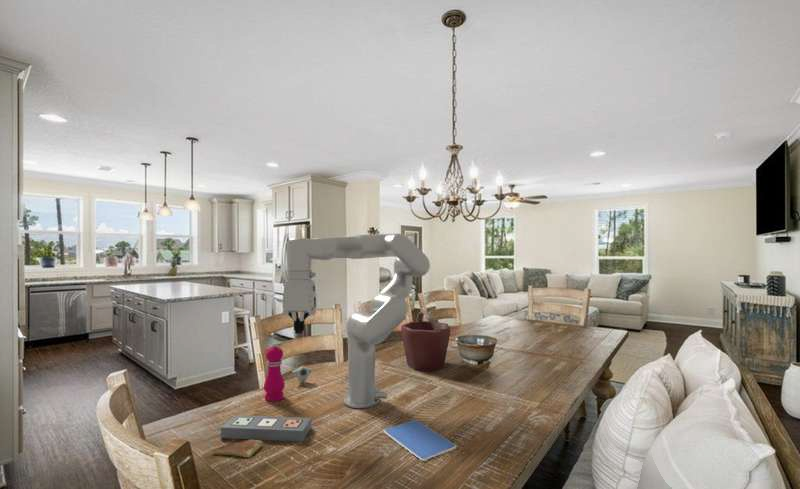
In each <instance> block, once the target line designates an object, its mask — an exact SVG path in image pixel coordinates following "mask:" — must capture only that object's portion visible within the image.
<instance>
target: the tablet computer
mask: <svg viewBox="0 0 800 489" xmlns="http://www.w3.org/2000/svg"><path fill="white" fill-rule="evenodd" d="M382 433H384V434H385V435H386V436H387V437H389V438H390V439H392V440H393V441H394V442H396V443H397V444H398V445H399V446H400V447H402V448H403V447H404V450H406V451H407V450H408V451H409V452H408V451H407V452H408V453H410V454H411V455H412V454H413V455H415V456H416V457H418V458H419V459H420V460H427V459H429V458H432V457H435V456H437V455H440V454H442V453H445V452H447V451H449V450H452V449H454V448H456V447H457V448H458V446H457V444H455V443H453V441H451V440H449V439H447V438H446V437H443V435H440V434H439V433H437V432H436V431H434V430H432V429H431V428H429V427H428V426H427V425H425V424H423V423H422V422H420V421H418V420H416V419H414V420H410V421H407V422H404V423H401V424H397V425H394V426H391V427H389V428H388V427H387V428H385V429H383V432H382ZM452 451H453V450H452ZM447 453H448V452H447ZM445 454H446V453H445ZM413 455H412V456H413ZM415 456H414V457H415ZM440 456H441V455H440ZM416 457H415V458H416ZM435 458H436V457H435ZM420 460H419V461H420Z"/></svg>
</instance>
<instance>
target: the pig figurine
mask: <svg viewBox="0 0 800 489" xmlns="http://www.w3.org/2000/svg"><path fill="white" fill-rule="evenodd" d="M312 370H313V369H312V368H309V367H306V366H305V365H304V366H300V367H298V368H296V369H294V370H292V371H291V372H292V374H293V376H294V377H295V378H297V380H298V382H299V383H301V384H302V383H304V382H306V381H307V379H308V377H309V376H310V374H311V373H312Z"/></svg>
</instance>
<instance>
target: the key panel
mask: <svg viewBox="0 0 800 489" xmlns="http://www.w3.org/2000/svg"><path fill="white" fill-rule="evenodd" d="M239 418H253V420H252V421H251V422H250V423H249V424H248V425H247V426H237V425H232V424H233V423H234V422H235V421H236V420H237V419H239ZM263 419H278V421H277V422H276V423H275V424H274V425H273V427H260V426H257V425H258V424H259V423H260V422H261V421H262V420H263ZM312 419H313V418H311V417H292V416H291V417H290V416H288V417H287V416H268V415H267V416H266V415H265V416H264V415H246V414H245V415H243V414H235V415H233V416H232V417H231V418H230V419H228V421H226V423H224V424H223V425H222V426H220V439H237V440H249V439H252V440H259V441H276V442H277V441H280V442H281V441H282V442H299V443H300V442H304V441H305V438H306V437H307V436H308V434H309V433H310V431H311V430H312ZM287 420H302V423H301V424H300V425H299V427H298V428H283V427H282V426H283V425H284V424H285V422H286V421H287Z"/></svg>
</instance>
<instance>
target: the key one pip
mask: <svg viewBox="0 0 800 489" xmlns="http://www.w3.org/2000/svg"><path fill="white" fill-rule="evenodd" d="M277 421H278V419H263V420H262V421H261V422H260V423H259V424H258V425H257V426H260V427H273V425H274V424H275V423H276V422H277Z"/></svg>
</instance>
